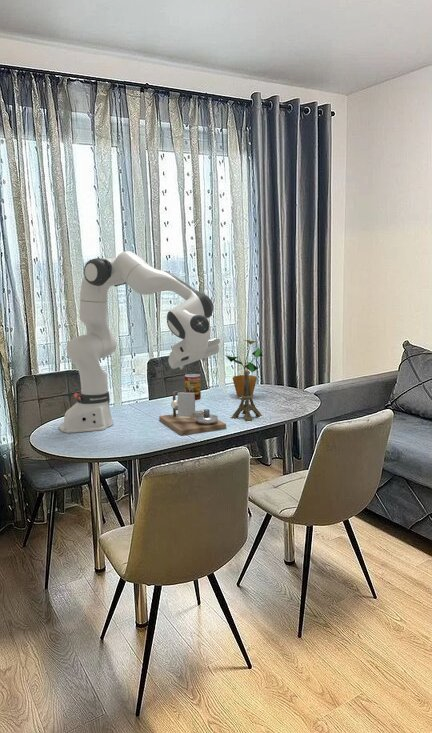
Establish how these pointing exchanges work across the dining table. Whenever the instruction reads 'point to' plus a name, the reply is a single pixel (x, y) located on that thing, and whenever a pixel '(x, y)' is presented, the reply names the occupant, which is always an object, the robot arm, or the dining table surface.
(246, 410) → the eiffel tower
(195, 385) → the canned food
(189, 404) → the crank handle
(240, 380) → the potted plant
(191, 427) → the stand
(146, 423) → the dining table surface
